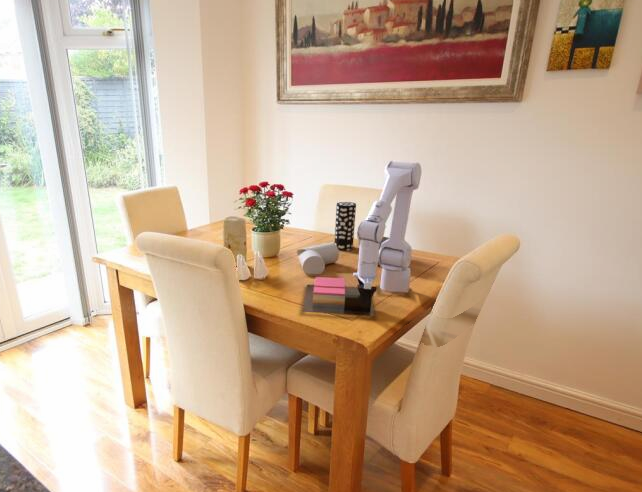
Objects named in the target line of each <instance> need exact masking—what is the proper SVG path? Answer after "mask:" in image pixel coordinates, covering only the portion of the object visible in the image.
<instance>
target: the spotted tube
mask: <svg viewBox="0 0 642 492" xmlns="http://www.w3.org/2000/svg"><path fill="white" fill-rule="evenodd" d="M335 209H336V210H335V224H334V225H335V226H334V241H333V243H334V244H335V245H336V246H337V248H338V250H339V251H342V252H343V251H344V252H346V251H351V250H353V249H354V239H355V225H356V213H357V203H355V202H351V201H340V202H336V207H335Z"/></svg>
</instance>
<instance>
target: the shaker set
mask: <svg viewBox="0 0 642 492" xmlns="http://www.w3.org/2000/svg"><path fill="white" fill-rule="evenodd" d="M237 271H238V276H239V280H238V281H246V280H248V279H249V278H250V277H252V274H251V271H250V269H249V266H248V264H247V262H245V259H244V257H243V255H242V254H241V258H240V255H238V256H237V267H236V272H237ZM268 274H269V270H268V268H267V264H266V263H265V260H264V258H263V255H262V253H261V251H259V250H258V251H255V252H254V263H253V278H254V279H257V280H258V281H262V280H265V279H266V278H267V276H268Z"/></svg>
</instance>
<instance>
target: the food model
mask: <svg viewBox="0 0 642 492" xmlns="http://www.w3.org/2000/svg"><path fill="white" fill-rule="evenodd" d="M222 222H223V223H222V247H226V248H228V249H230V250H231V251H232V253H233V255H234V258H235V262H236V265H237V256H238V255H240V258H241V254H242V255H243V257H244V259H245V262H246V263H247V251H248V248H247V229H246V219H245V218H243V217H240V216H239V217H238V216H228V217H224V218H223V221H222Z"/></svg>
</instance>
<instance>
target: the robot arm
mask: <svg viewBox="0 0 642 492" xmlns="http://www.w3.org/2000/svg"><path fill="white" fill-rule="evenodd" d="M422 172H423V171H422V166H421V164H420V163H419V162H405V161H392V160H390V161H388V162H387V164H386V166H385V168H384V182H385V183H384V186H383V188H382V191H381V194H380V197H379V199H377V200H376V201H374V202H373V203H372V206H371V208H370V209H369V212H368V214H367V216H366V218H365V219H364V220H363V221H361V222H360V223H359V224H358V227H357V231H356V237H357V245H358V246H359V248H358V250H359V251H358V259H357V260H358V261H357V272H353V274H352V277H353V278H356V279H357V282H358V284H357V286H356V287H357V288H358V291H359V293H360V299H361V307H367V308H368V307H369V305H370V302H371V299H372V300H373V296H374V295H375V293H376V292H377V291H378V287H377V286H372V284H373V283H374V282H375V281H376V280H377V279H378V267H379V266H378V262H379V264H381V266H380V268H381V275H380V276H381V277H380V284H379V285H380V286H379V288H380V290H381V291H383V292H387V293H405V294H406V293H407V294H408V293H409V291H410V283H411V275H412V274H411V273H412V272H411V268H410V267H409V266H411V265H410V264H411V261H412V250H413V249H412V246H411V244H409V242H408V241H406V240H405V238H406V233H407V227H408V221H409V214H410V208H411V203H412V197H413V193H414V191H416V190H418V189H419V186H420V183H421V178H422ZM394 199H395V201H394ZM393 201H394V207H392V202H393ZM392 211H393V214H392V220H391V225H390V232H389V237H388V238H389V239H388V240H386V241H384V242H383V243H382V244H381V247H380V250H379V246H380V241H381V240H382V238H383V237H385V232H386V231H385V230H386V228H387V225H386V223H387V221H388V219H389V217H390V215H391V213H392ZM389 247H391V248H389Z"/></svg>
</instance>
